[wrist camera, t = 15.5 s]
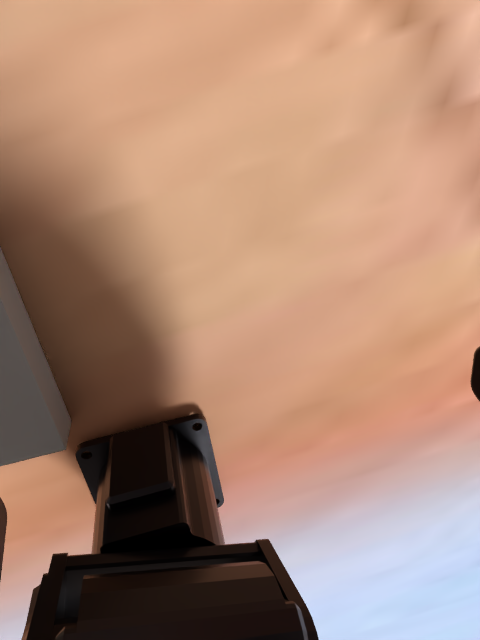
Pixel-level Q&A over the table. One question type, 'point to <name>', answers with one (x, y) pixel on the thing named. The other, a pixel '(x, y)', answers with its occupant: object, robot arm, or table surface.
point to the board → (26, 384)
